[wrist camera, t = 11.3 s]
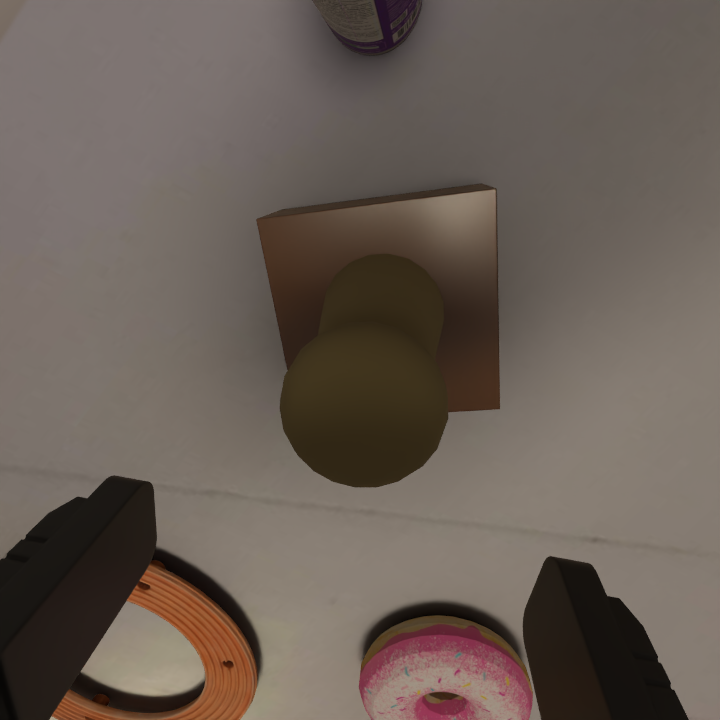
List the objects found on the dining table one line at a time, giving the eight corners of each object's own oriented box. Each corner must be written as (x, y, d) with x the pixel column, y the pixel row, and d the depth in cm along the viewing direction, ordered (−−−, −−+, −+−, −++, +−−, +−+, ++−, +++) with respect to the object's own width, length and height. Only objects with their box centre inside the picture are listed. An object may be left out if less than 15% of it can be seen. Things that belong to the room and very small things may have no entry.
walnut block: (280, 209, 26) (255, 218, 22) (482, 183, 24) (496, 188, 20) (313, 385, 30) (297, 421, 26) (487, 373, 28) (500, 409, 24)
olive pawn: (348, 232, 22) (290, 295, 11) (466, 283, 22) (510, 388, 12) (306, 343, 24) (227, 474, 14) (413, 387, 24) (411, 546, 14)
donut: (414, 574, 36) (414, 635, 31) (560, 644, 37) (580, 713, 32) (337, 667, 41) (327, 731, 36) (466, 725, 42) (473, 794, 38)
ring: (295, 593, 38) (288, 620, 36) (228, 750, 48) (219, 779, 46) (-5, 488, 37) (-32, 509, 35) (-8, 672, 47) (-29, 697, 45)
